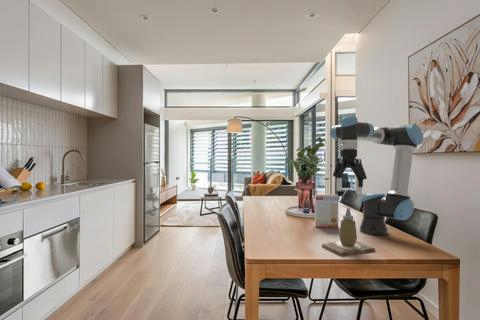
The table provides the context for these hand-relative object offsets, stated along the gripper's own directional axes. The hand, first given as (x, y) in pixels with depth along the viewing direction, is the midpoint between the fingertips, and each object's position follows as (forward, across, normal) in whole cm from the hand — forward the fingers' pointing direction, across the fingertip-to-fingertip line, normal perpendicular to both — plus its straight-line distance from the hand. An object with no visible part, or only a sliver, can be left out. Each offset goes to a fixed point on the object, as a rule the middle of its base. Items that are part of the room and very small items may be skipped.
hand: (348, 192), depth 138 cm
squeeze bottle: (+26, 0, 0) cm, 26 cm away
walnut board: (+28, 0, 0) cm, 28 cm away
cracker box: (+28, -40, +18) cm, 52 cm away
